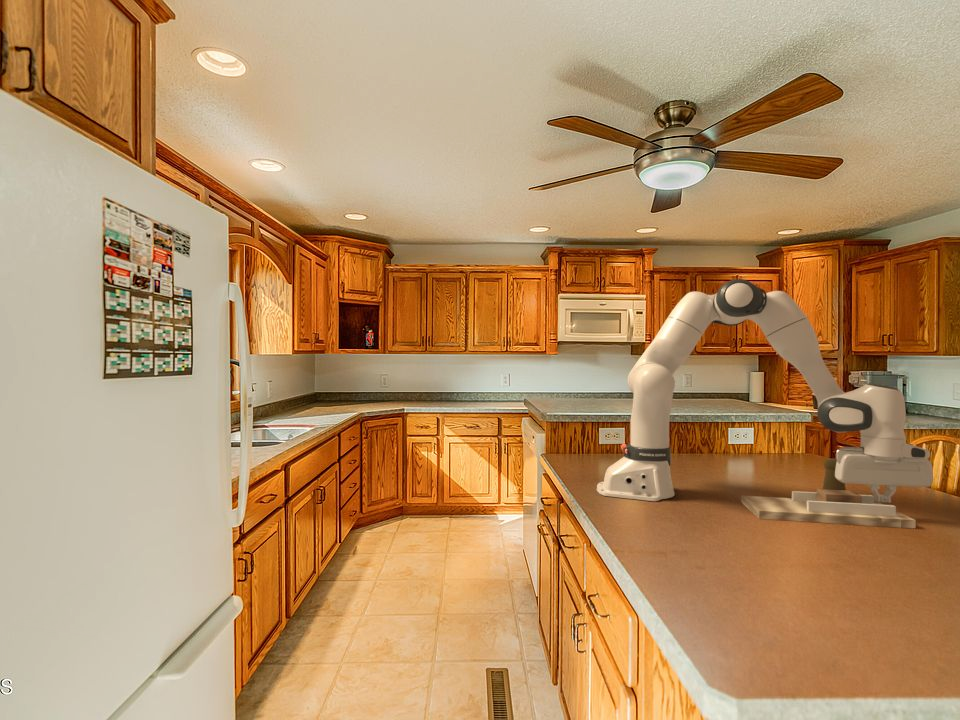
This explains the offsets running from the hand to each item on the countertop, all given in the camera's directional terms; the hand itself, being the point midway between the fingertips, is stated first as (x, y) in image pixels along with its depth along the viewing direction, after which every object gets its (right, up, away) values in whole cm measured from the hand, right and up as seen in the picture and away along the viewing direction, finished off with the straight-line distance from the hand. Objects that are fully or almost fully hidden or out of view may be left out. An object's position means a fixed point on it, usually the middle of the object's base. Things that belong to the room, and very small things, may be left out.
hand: (882, 502), depth 123 cm
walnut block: (-10, -2, +2) cm, 10 cm away
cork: (+2, -4, +20) cm, 21 cm away
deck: (-13, -4, +3) cm, 14 cm away
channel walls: (-9, -2, +2) cm, 10 cm away
